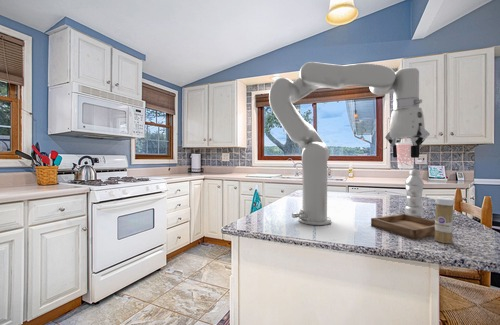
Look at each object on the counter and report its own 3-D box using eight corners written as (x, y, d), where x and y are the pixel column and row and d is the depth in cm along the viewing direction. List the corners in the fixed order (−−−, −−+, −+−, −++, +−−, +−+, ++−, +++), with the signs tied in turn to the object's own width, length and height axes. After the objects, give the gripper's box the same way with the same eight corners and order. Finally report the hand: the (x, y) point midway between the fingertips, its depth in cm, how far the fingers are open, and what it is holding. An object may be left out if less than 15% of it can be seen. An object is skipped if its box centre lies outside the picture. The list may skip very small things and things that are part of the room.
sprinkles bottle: (433, 241, 78) (434, 198, 77) (434, 237, 81) (436, 196, 81) (452, 245, 75) (454, 199, 74) (453, 241, 78) (454, 197, 78)
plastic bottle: (426, 220, 103) (427, 171, 102) (407, 219, 104) (409, 170, 103) (419, 216, 109) (420, 170, 108) (401, 215, 110) (402, 169, 110)
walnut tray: (413, 239, 79) (413, 230, 79) (371, 226, 94) (371, 218, 94) (448, 232, 86) (448, 223, 86) (403, 221, 101) (403, 213, 101)
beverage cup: (415, 168, 84) (416, 126, 84) (394, 168, 87) (394, 127, 87) (416, 167, 89) (416, 128, 89) (395, 167, 92) (396, 129, 92)
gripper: (439, 101, 81) (438, 157, 82) (391, 110, 97) (391, 157, 98) (423, 99, 78) (423, 157, 79) (377, 109, 94) (376, 157, 95)
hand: (405, 157), depth 88 cm, fingers closed on beverage cup, 6 cm apart
